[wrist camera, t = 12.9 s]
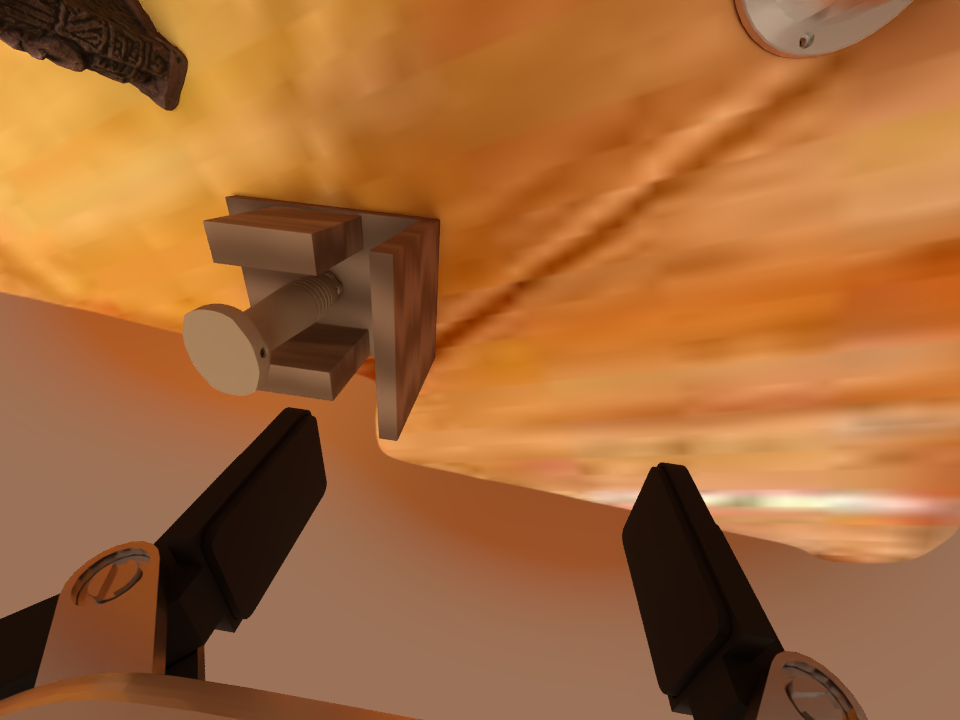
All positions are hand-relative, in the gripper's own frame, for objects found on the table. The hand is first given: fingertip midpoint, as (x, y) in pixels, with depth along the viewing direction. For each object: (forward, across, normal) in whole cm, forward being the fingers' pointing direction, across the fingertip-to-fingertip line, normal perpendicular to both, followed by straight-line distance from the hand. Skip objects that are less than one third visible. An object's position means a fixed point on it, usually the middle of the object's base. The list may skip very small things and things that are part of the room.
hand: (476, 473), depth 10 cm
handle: (+27, +18, +5) cm, 33 cm away
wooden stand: (+28, +18, +6) cm, 34 cm away
